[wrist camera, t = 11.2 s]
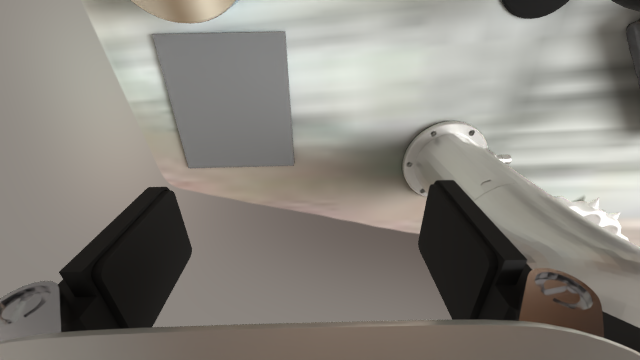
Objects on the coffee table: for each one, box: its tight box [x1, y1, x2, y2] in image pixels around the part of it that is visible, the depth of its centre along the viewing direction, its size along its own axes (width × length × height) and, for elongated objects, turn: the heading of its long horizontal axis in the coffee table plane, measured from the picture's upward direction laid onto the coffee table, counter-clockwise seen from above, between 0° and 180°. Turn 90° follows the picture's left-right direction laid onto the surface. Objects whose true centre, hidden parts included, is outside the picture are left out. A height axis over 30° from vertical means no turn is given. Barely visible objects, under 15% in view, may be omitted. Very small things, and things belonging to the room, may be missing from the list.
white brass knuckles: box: [554, 196, 628, 241], centre depth 49 cm, size 3×18×15 cm
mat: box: [152, 32, 294, 168], centre depth 38 cm, size 16×18×1 cm
